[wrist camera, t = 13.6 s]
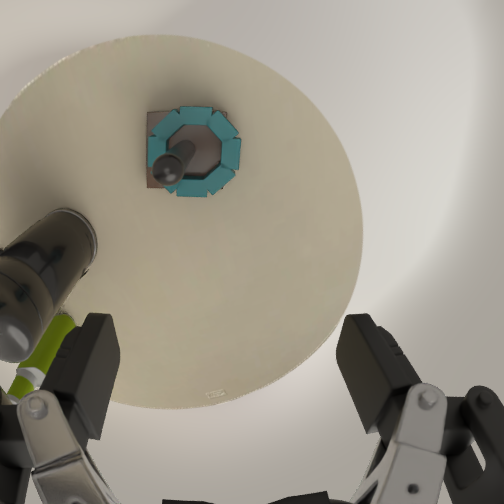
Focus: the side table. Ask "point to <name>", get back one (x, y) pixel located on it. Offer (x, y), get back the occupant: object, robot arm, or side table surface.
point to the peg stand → (183, 153)
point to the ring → (219, 127)
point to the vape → (40, 358)
